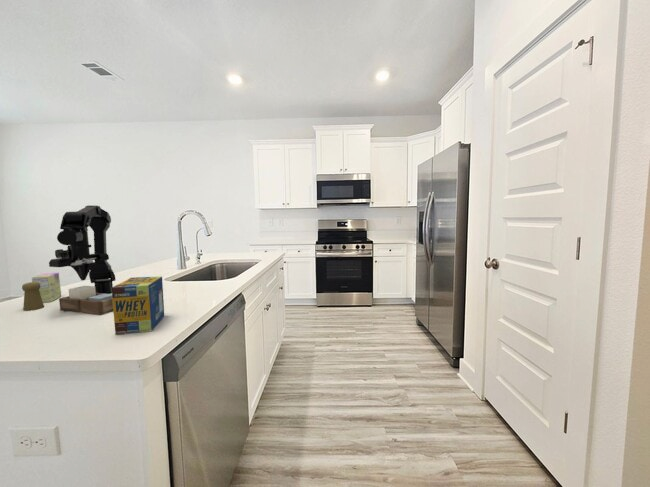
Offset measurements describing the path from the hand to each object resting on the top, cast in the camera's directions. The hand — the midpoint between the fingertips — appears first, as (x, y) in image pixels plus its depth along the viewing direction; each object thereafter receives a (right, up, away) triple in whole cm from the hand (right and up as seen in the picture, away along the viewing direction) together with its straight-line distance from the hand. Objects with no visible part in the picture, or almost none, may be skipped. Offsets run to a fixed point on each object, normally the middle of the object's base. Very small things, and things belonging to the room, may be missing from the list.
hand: (83, 280), depth 114 cm
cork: (-21, -12, +1) cm, 24 cm away
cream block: (-1, -7, +1) cm, 7 cm away
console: (+5, -12, 0) cm, 13 cm away
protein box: (+36, -13, -17) cm, 42 cm away
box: (-27, -11, +13) cm, 32 cm away
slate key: (+10, -10, -2) cm, 14 cm away
